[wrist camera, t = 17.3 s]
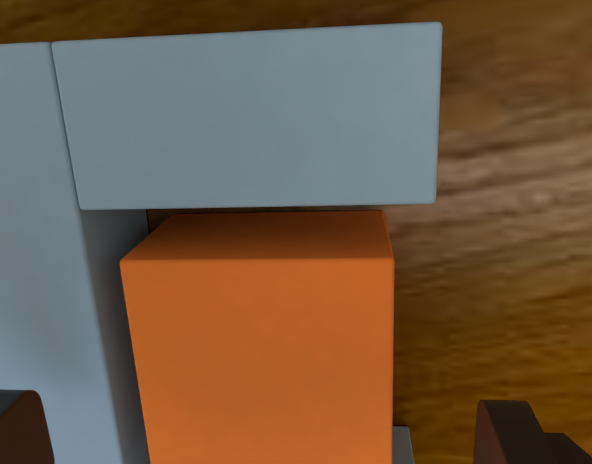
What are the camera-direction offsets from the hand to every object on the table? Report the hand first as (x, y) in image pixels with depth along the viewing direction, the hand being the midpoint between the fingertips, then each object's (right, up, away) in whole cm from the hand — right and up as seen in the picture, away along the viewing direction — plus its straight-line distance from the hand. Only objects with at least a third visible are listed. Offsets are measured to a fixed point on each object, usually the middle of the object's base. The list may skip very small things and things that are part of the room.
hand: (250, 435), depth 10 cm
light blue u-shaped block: (-1, +2, +5) cm, 6 cm away
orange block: (0, +2, +5) cm, 5 cm away
